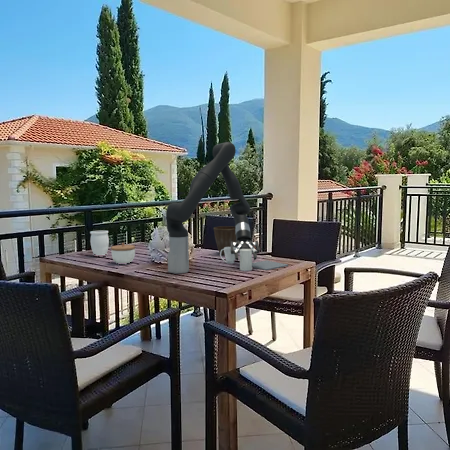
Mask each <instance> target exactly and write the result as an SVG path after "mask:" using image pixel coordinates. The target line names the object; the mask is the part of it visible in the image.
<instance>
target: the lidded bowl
mask: <svg viewBox="0 0 450 450" xmlns="http://www.w3.org/2000/svg"><path fill="white" fill-rule="evenodd" d="M110 251H111V258H112V260H113V262H114V263H116V264H117V263H130V262H131V263H132V261H133V260H134V258H135V255H136V246H135V244H125V242H122V243H121V244H119V245H112V246H111V247H110ZM131 263H130V264H131Z"/></svg>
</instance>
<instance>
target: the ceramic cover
mask: <svg viewBox="0 0 450 450" xmlns="http://www.w3.org/2000/svg"><path fill="white" fill-rule="evenodd" d="M252 255H253V253H252V249H240V252H239V271H242V272H249V271H253V267H252V263H253V256H252Z"/></svg>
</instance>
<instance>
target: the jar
mask: <svg viewBox="0 0 450 450" xmlns="http://www.w3.org/2000/svg"><path fill="white" fill-rule="evenodd" d="M108 233H109V230H105V229H103V230H101V229H100V230H99V229H98V230H92V231H89V234H90V240H89V242H90V246H91V250H92V253H93V255H94V254H96V255H105V254H107V255H108V251H109V246H110V245H109V244H110V239H109V234H108Z"/></svg>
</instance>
